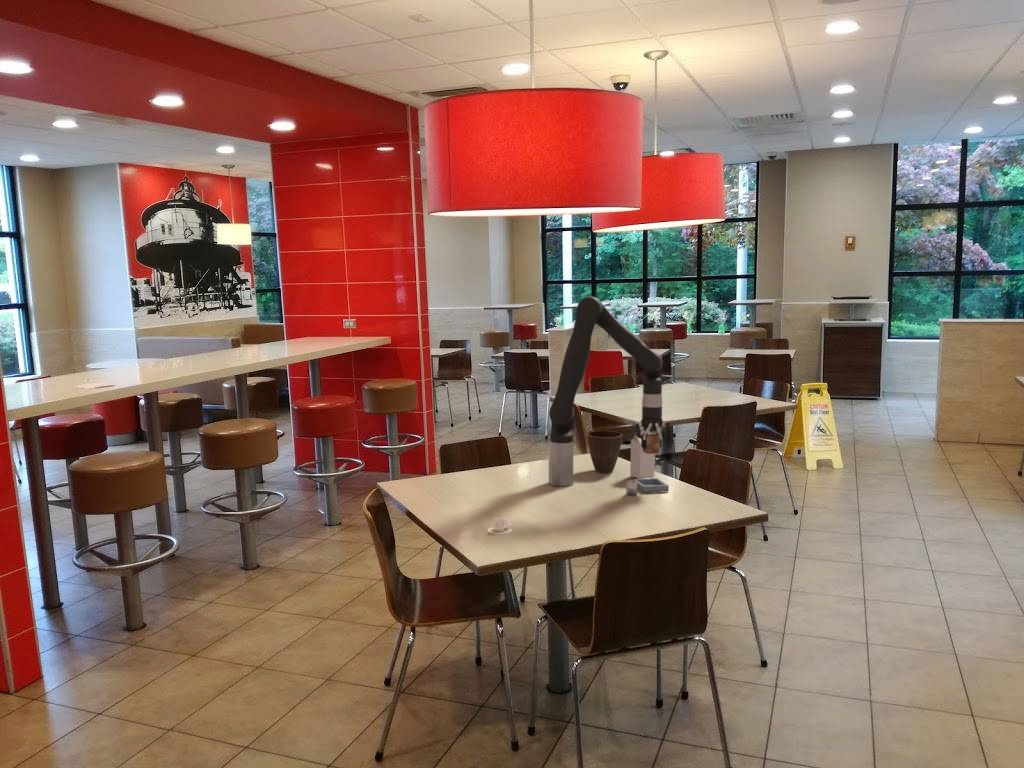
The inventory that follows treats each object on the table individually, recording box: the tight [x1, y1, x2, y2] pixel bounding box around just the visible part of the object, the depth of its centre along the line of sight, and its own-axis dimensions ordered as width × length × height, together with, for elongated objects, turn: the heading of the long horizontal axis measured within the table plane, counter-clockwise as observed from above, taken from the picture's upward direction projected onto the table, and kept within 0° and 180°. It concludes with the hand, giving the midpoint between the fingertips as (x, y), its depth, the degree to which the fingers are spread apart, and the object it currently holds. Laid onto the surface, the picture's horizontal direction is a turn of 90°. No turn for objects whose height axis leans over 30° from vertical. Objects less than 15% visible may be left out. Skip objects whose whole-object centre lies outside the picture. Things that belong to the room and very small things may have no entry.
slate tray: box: [632, 477, 670, 494], centre depth 319 cm, size 10×12×2 cm
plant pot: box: [586, 430, 623, 474], centre depth 348 cm, size 15×15×16 cm
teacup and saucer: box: [487, 517, 513, 535], centre depth 267 cm, size 9×8×4 cm
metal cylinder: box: [625, 480, 638, 497], centre depth 310 cm, size 4×4×5 cm
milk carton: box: [629, 431, 656, 479], centre depth 336 cm, size 7×7×19 cm
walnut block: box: [643, 432, 661, 455], centre depth 317 cm, size 5×5×7 cm
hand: (651, 448), depth 317 cm, fingers closed on walnut block, 5 cm apart
